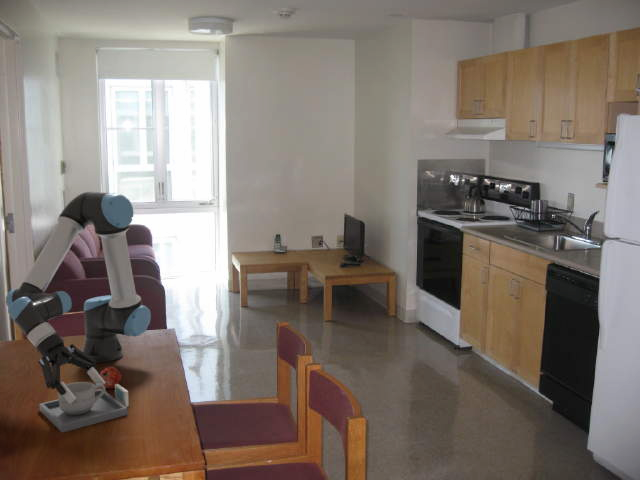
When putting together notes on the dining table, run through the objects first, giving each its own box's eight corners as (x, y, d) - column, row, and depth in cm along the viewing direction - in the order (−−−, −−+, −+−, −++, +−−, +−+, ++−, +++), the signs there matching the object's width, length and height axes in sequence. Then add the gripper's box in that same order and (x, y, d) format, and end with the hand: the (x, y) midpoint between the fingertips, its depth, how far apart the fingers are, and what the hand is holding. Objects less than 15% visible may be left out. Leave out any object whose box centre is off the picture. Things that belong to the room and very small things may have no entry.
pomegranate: (106, 388, 239) (88, 379, 231) (117, 369, 241) (99, 359, 233) (121, 396, 235) (102, 386, 227) (132, 376, 237) (113, 366, 229)
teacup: (58, 420, 206) (56, 394, 205) (59, 407, 216) (57, 382, 215) (107, 414, 211) (105, 389, 210) (105, 401, 221) (104, 377, 220)
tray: (102, 394, 228) (101, 388, 227) (127, 414, 212) (127, 407, 212) (39, 410, 215) (39, 403, 215) (62, 432, 200) (61, 425, 199)
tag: (118, 398, 225) (117, 383, 224) (128, 406, 219) (128, 391, 218) (114, 399, 224) (113, 384, 223) (124, 407, 218) (124, 392, 217)
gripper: (67, 336, 227) (107, 386, 225) (9, 360, 204) (52, 415, 202) (79, 322, 225) (120, 372, 222) (22, 345, 202) (66, 401, 199)
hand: (88, 393), depth 212 cm, fingers open, 13 cm apart
